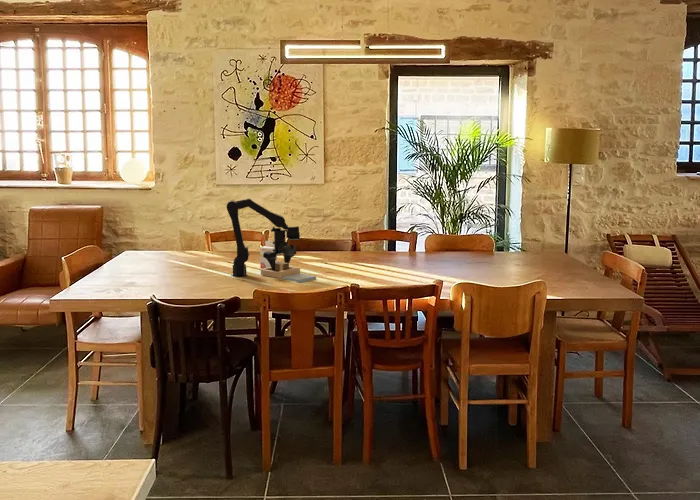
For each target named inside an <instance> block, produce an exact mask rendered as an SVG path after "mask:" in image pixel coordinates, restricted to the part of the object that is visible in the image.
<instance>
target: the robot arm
mask: <svg viewBox="0 0 700 500" xmlns="http://www.w3.org/2000/svg"><path fill="white" fill-rule="evenodd" d="M245 208H249V209H251V210H252V211H255V212H256V213H258V214H260V215H261V216H263V217H265V218H266V219H267V220H269V222H271V224H273V225H274V226H273V227H272V228H271V229H270V232H272V233H273V235H274V237H273V239H274V241H273V244H274V250H273V252H271V251H268V252H264V254H263V257H264V258H265V259H267V260H268V262H269V264H270V266H271V268H272V270H273V271H275V261H276V259H277V260H278V256H281V255H282V256H283V261H284V262H283V263H289V264H290V262H291V259H292V258H293V257H294V256H295V255H297V247H296V245H294V244H292V245H288V242H287V241H286V239H288V240H290V241H291V240H292V241H293V240H294V241H296V240H297V241H298V240H301V239H300V238H301V235H300V234H301V233H300V227H299V226H288V224H287V223H286V219H285V217H284V216H283V215H281V214H278V213H275V212H273V211H271V210H268V209H267V208H265V207H264V206H262V205H260V204H259V203H257V202H256V201H254V200H253V199H251V198H245V199H241V200H240V199H239V200H234V199H233V200H229V201H228V202H227V204H226V210H227V212H228V215H229V217H230V220H231V224H232V228H233V233H234V238H235V242H236V257H234V259H233V261H232V262H233V263H232V264H233V265H232V274H231V275H230V276H231V277H235V278H241V277H243V278H244V277H247V276H248V274H247V265H246V262H247V261H248V260H249V256H250V251H249V246H248V245H247V246H245V242H244V238H243V233H242V229H241V224H240V219H239V210H241V209H245ZM273 244H272V245H273ZM276 256H277V258H276Z"/></svg>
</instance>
